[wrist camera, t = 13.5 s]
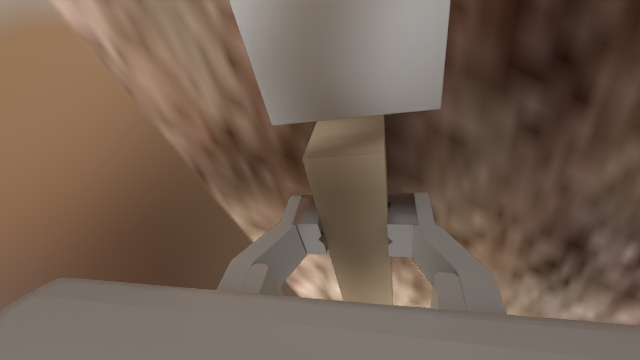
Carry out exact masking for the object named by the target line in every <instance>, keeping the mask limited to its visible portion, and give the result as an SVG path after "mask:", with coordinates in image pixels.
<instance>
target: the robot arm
mask: <svg viewBox="0 0 640 360" xmlns="http://www.w3.org/2000/svg"><path fill="white" fill-rule="evenodd" d="M387 203H388V216H387V231H388V247H389V256H392V257H408V258H413V260H414V262H415V263H416V264H417V266H418V267H419V268H420V270H421V271H422V272H423V274H424V275H425V276H426V278H427V279H428V281H429V282H430V283H431V285H432V286H433V291H432V299H431V306H430V308H421V307H409V306H397V305H385V304H373V303H361V302H349V301H336V300H324V299H312V298H300V297H287V296H284V294H283V292H282V291H281V289H280V286H281V285H282V284H283V282H284V281H285V280H286V279H287V278H288V277H289V275H290V274H291V273H292V272H293V271H294V270H295V268H296V267H297V266H298V265H299V264H300V263H301V261H302V260H303V259H304V258H305V257H306V255H307V254H327V250H328V244H327V240H326V236H325V235H324V233H323V226H322V223H321V219H320V216H318V212H317V209H316V205H315V202H314V198H313V195H303V196H297V195H292V196H291V197H290V198H289V200H288V203H287V205H286V208H285V210H284V213H283V216H282V218H281V221H280V223H279V224H276V225H275V226H273V227H272V228H271V229H270V230H268V231H267V232H266V233H265V234H264V235H262V236H261V237H260V238H259V239H257V240H256V241H255V242H254V243H252V244H251V245H250V246H249V247H248V248H247V249H245V250H244V251H243V252H241V253H240V254H239V255H238V256H237V257H235V258H234V259H233V260H232V261H231V262H230V264H229V266H228V268H227V270H226V272H225V275H224V276H223V278H222V280H221V282H220V284H219V286H218V288H217V290H203V289H192V288H179V287H167V286H155V285H144V284H132V283H120V282H108V281H97V280H84V279H74V278H61V279H58V280H55V281H53V282H51V283H49V284H47V285H45V286H43V287H41V288H39V289H37V290H35V291H33V292H31V293H30V294H28V295H27V296H24V297H23V298H21V299H19V300H17V301H16V302H14V303H12V304H11V305H9V306H7V307H5V308H4V309H2V310H1V311H0V360H640V326H638V325H626V324H614V323H602V322H590V321H578V320H565V319H553V318H541V317H529V316H517V315H507V312H506V309H505V306H504V303H503V301H502V298H501V295H500V292H499V289H498V286H497V283H496V280H495V277H494V275H493V273H492V272H490V271H489V270H488V269H487V268H486V267H485V266H484V265H483V264H482V263H480V262H479V261H478V260H477V259H476V258H475V257H474V256H473V255H472V254H471V253H469V252H468V251H467V250H466V249H465V248H464V247H463V246H462V245H461V244H460V243H458V242H457V241H456V240H455V239H454V238H453V237H452V236H451V235H450V234H448V233H447V232H446V231H445V230H444V229H443V228H442V227H441V226H440V225H435V222H434V217H433V212H432V207H431V202H430V196H429V193H428V192H418V193H392V194H387Z"/></svg>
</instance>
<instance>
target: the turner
mask: <svg viewBox="0 0 640 360" xmlns="http://www.w3.org/2000/svg"><path fill="white" fill-rule="evenodd" d="M229 2H230V4H231V7H232V10H233V13H234V16H235V19H236V22H237V25H238V28H239V31H240V34H241V36H242V39H243V42H244V45H245V48H246V51H247V54H248V57H249V60H250V63H251V66H252V68H253V71H254V74H255V77H256V80H257V83H258V86H259V89H260V92H261V95H262V98H263V100H264V103H265V106H266V109H267V112H268V115H269V118H270V121H271V124H272V126H273V125H284V124H294V123H304V122H314V121H317V122H316V125H315V127H314V130H313V133H312V135H311V138H310V140H309V143H308V145H307V148H306V150H305V153H304V156H303V158H302V161H303V164H304V167H305V171H306V174H307V178H308V181H309V185H310V188H311V191H312V195H313V198H314V202H315V205H316V209H317V212H318V216H320V219H321V223H322V226H323V233H324V235H325V236H326V240H327V244H328V250H329V253H330V257H331V260H332V264H333V267H334V271H335V274H336V277H337V281H338V284H339V288H340V291H341V295H342V298H343V301H349V302H361V303H373V304H385V305H393V288H392V259H391V256H389V247H388V231H387V216H388V203H387V194H388V179H387V159H386V139H385V119H384V114H394V113H404V112H414V111H425V110H435V109H441V99H442V88H443V77H444V66H445V55H446V44H447V33H448V22H449V11H450V0H229Z"/></svg>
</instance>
